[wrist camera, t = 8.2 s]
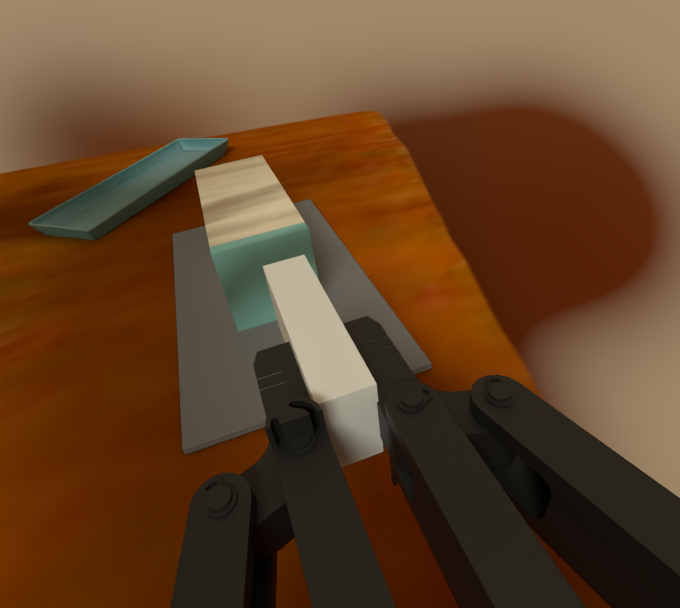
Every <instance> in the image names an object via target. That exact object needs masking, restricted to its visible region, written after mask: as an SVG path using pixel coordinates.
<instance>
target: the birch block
mask: <svg viewBox="0 0 680 608" xmlns="http://www.w3.org/2000/svg"><path fill="white" fill-rule="evenodd" d="M195 175H196V180H197V186H198V191H199V196H200V201H201V206H202V211H203V216H204V222H205V227H206V232H207V237H208V242H209V247H210V253H211V256H212V259H213V262H214V265H215V268H216V271H217V273H218V276H219V279H220V282H221V285H222V288H223V290H224V293H225V296H226V299H227V302H228V305H229V307H230V310H231V313H232V316H233V319H234V321H235V324H236V327H237V330H238V332H239V331H242V330H246V329H249V328H252V327H256V326H259V325H262V324H265V323H269V322H272V321H275V320H277V317H276V313H275V310H274V306H273V302H272V299H271V295H270V291H269V288H268V284H267V280H266V277H265V273H264V269H263V266H265V265H269V264H272V263H276V262H279V261H283V260H286V259H290V258H294V257H297V256H301V255H305V257H306V259H307V260H308V262H309V264H310V266H311V268H312V269H313V271H314V273H315V275H316V277H317V278H318V274H317V269H316V264H315V258H314V253H313V247H312V242H311V237H310V231H309V228H308V226H307V225H306V223H305V222H304V220H303V218H302V217H301V215H300V214H299V212H298V211H297V209H296V208H295V206H294V204H293V203H292V201H291V200H290V198H289V197H288V195H287V194H286V192H285V190H284V189H283V187H282V186H281V184H280V183H279V181H278V180H277V178H276V176H275V175H274V173H273V172H272V170H271V169H270V167H269V166H268V164H267V162H266V161H265V159H264V158H263V156H262V155H260V156H256V157H251V158H247V159H243V160H238V161H234V162H230V163H225V164H221V165H217V166H212V167H208V168H204V169H199V170H195Z"/></svg>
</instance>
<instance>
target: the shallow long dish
mask: <svg viewBox="0 0 680 608" xmlns="http://www.w3.org/2000/svg"><path fill="white" fill-rule="evenodd" d="M227 144H228V139H227V138H184V139H183V138H180V139H177V140H175V141H174V142H172V143H170V144H168V145H166V146H165V147H163V148H161V149H159V150H157V151H156V152H154V153H152V154H150V155H149V156H147V157H145V158H143V159H142V160H140V161H138V162H136V163H135V164H133V165H131V166H129V167H127V168H126V169H124V170H122V171H120V172H118V173H117V174H115V175H113V176H111V177H109V178H108V179H106V180H104V181H102V182H100V183H98V184H96V185H95V186H93V187H91V188H89V189H87V190H86V191H84V192H82V193H80V194H78V195H76V196H75V197H73V198H71V199H69V200H67V201H66V202H64V203H62V204H60V205H59V206H57V207H55V208H53V209H51V210H50V211H48V212H46V213H44V214H43V215H41V216H39V217H37V218H36V219H34V220H32V221H30V222H29V223H28V225H29V226H31V227H33V228H34V229H36V230H38V231H40V232H41V233H43V234H45V235H51V236H60V237H70V238H78V239H87V240H96V239H98V238H100V237H101V236H103V235H104V234H106V233H108V232H109V231H111V230H112V229H114V228H115V227H117V226H118V225H120V224H121V223H123V222H124V221H126V220H127V219H129V218H130V217H132V216H133V215H135V214H136V213H138V212H139V211H141V210H142V209H144V208H145V207H147V206H149V205H150V204H152V203H153V202H155V201H156V200H158V199H159V198H161V197H162V196H164V195H165V194H167V193H168V192H170V191H171V190H173V189H174V188H176V187H177V186H179V185H180V184H182V183H183V182H185V181H186V180H188V179H189V178H191V177H192V176H194V175H195V170H199V169H204V168H206V167H207V166H209V165H210V164H212V163H213V162H215V161H216V160H218V159H219V158H221V157H222V156H223V155H224V154H225V151H226V148H227Z"/></svg>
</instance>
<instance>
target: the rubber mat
mask: <svg viewBox="0 0 680 608" xmlns="http://www.w3.org/2000/svg"><path fill="white" fill-rule="evenodd" d="M293 204H294V206H295V208H296V209H297V211H298V212H299V214H300V215H301V217H302V218H303V220H304V222H305V223H306V225H307V226H308V228H309V231H310V237H311V242H312V247H313V253H314V258H315V264H316V269H317V274H318V280H319V282H320V284H321V285H322V287H323V289H324V291H325V293H326V294H327V296H328V298H329V300H330V302H331V303H332V305H333V307H334V309H335V310H336V312H337V314H338V316H339V318H340V319H341V321H342V323H346V322H349V321H352V320H355V319H358V318H362V317H365V316H368V317H370V318H372V319H373V320H375V321H377V322H378V323H380V324H381V326H382V327H383V329H384V330H385V332H386V333H387V335H388V337H389V338H390V339H391V341H392V342H393V344H394V346H395V347H396V348H397V350H398V351H399V353H400V354H401V355H402V357H403V358H404V360H405V361H406V363H407V364H408V366H409V367H410V369H411V370H412V372H413V373H414V375H415V374H417V373H420V372H423V371H426V370H429V369H432V363H431V362H430V360H429V359H428V358H427V356H426V355H425V354H424V352H423V351H422V350H421V348H420V347H419V346H418V344H417V343H416V342H415V340H414V339H413V338H412V336H411V335H410V333H409V332H408V331H407V329H406V328H405V327H404V325H403V324H402V323H401V321H400V320H399V319H398V317H397V316H396V315H395V313H394V312H393V311H392V309H391V308H390V306H389V305H388V304H387V302H386V301H385V300H384V298H383V297H382V296H381V294H380V293H379V292H378V290H377V289H376V288H375V286H374V285H373V284H372V282H371V281H370V280H369V278H368V277H367V275H366V274H365V273H364V271H363V270H362V269H361V267H360V266H359V265H358V263H357V262H356V261H355V259H354V258H353V257H352V255H351V254H350V253H349V251H348V250H347V249H346V247H345V246H344V244H343V243H342V242H341V240H340V239H339V238H338V236H337V235H336V234H335V232H334V231H333V230H332V228H331V227H330V226H329V224H328V223H327V222H326V220H325V219H324V217H323V216H322V215H321V213H320V212H319V211H318V209H317V208H316V207H315V205H314V204H313V203H312V201H311V200H310V199H308V200H304V201H300V202H296V203H293ZM172 235H173V256H174V278H175V300H176V321H177V343H178V364H179V386H180V407H181V429H182V450H183V452H184V454H185V455H186V454H189V453H192V452H195V451H197V450H200V449H203V448H206V447H209V446H212V445H215V444H217V443H220V442H223V441H226V440H229V439H232V438H235V437H237V436H240V435H243V434H246V433H249V432H252V431H255V430H257V429H260V428H263V427H265V420H266V414H265V410H264V407H263V403H262V399H261V395H260V390H259V387H258V383H257V379H256V375H255V371H254V367H253V364H254V360H255V357H256V353H257V351H261V350H264V349H267V348H270V347H273V346H276V345H280V344H283V343H285V341H284V339H283V336H282V333H281V330H280V328H279V324H278V321H277V320H275V321H272V322H269V323H265V324H262V325H259V326H256V327H252V328H249V329H246V330H242V331H239V332H238V330H237V327H236V324H235V321H234V319H233V316H232V313H231V310H230V307H229V305H228V302H227V299H226V296H225V293H224V290H223V288H222V285H221V282H220V279H219V276H218V273H217V271H216V268H215V265H214V262H213V259H212V256H211V253H210V247H209V242H208V237H207V232H206V227H205V226H202V227H198V228H194V229H190V230H186V231H182V232H178V233H175V234H172Z"/></svg>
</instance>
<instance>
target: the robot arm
mask: <svg viewBox="0 0 680 608" xmlns="http://www.w3.org/2000/svg"><path fill="white" fill-rule="evenodd" d="M263 269H264V273H265V277H266V280H267V284H268V288H269V291H270V295H271V299H272V302H273V306H274V310H275V313H276V317H277V321H278V324H279V328H280V330H281V333H282V336H283V339H284V341H285V343H283V344H280V345H276V346H273V347H270V348H267V349H264V350H261V351H257V353H256V357H255V360H254V364H253V367H254V371H255V375H256V379H257V383H258V387H259V390H260V395H261V399H262V403H263V407H264V410H265V414H266V420H265V430H266V433H267V436H268V439H269V445H268V447H267V449H266V452H265V453H264V454H263V456H262V457H261V458H260V459H259V460H258V461H257V462H256V463H255V464H254V465H252V466H251V467H250V468H248V469H247V470H246V471H244V472H243V473H241V474H240V475H238V474H236V473H222V474H219V475H216V476H213V477H212V478H210V479H209V480H207V481H206V482H204V483H203V484H202V485H201V486H200V488H199V489H198V490H197V491H196V493H195V494H194V496H193V499H192V501H191V504H190V508H189V513H188V518H187V523H186V529H185V534H184V539H183V545H182V550H181V555H180V560H179V566H178V571H177V576H176V581H175V587H174V592H173V597H172V603H171V608H276V581H277V552H278V551H279V550H280V549H281V548H283V547H284V546H285V545H286V544H287V543H289V542H290V541H291V540H292V539H293V538H294V537H295V539H296V543H297V547H298V551H299V555H300V559H301V563H302V567H303V571H304V575H305V579H306V583H307V587H308V591H309V595H310V599H311V603H312V607H313V608H396V607H395V605H394V602H393V599H392V597H391V594H390V592H389V589H388V587H387V584H386V581H385V579H384V576H383V574H382V571H381V569H380V566H379V563H378V561H377V558H376V556H375V553H374V551H373V548H372V545H371V543H370V540H369V538H368V535H367V533H366V530H365V527H364V525H363V522H362V520H361V517H360V515H359V512H358V509H357V507H356V504H355V502H354V499H353V497H352V494H351V491H350V489H349V486H348V484H347V481H346V479H345V476H344V473H343V471H342V467H344V466H347V465H350V464H352V463H355V462H357V461H360V460H363V459H365V458H368V457H371V456H373V455H376V454H378V453H381V452H384V451H383V443H384V445H385V447H386V449H387V451H388V453H389V455H390V466H391V478H392V482H393V486H394V485H396V484H397V481H398V483H399V485H400V487H401V489H402V491H403V493H404V495H405V497H406V500H407V502H408V504H409V506H410V508H411V510H412V512H413V514H414V516H415V518H416V520H417V522H418V524H419V526H420V528H421V530H422V532H423V534H424V536H425V538H426V541H427V543H428V545H429V547H430V549H431V551H432V553H433V555H434V557H435V559H436V561H437V563H438V565H439V567H440V569H441V571H442V573H443V575H444V577H445V580H446V582H447V584H448V586H449V588H450V590H451V592H452V594H453V596H454V598H455V600H456V602H457V604H458V606H459V608H585V606H584V605H583V603H582V602H581V601H580V599H579V598H578V596H577V595H576V593H575V592H574V590H573V589H572V588H571V586H570V585H569V583H568V582H567V580H566V579H565V578H564V576H563V575H562V573H561V572H560V570H559V569H558V567H557V566H556V565H555V563H554V562H553V560H552V559H551V557H550V556H549V554H548V553H547V552H546V550H545V549H544V547H543V546H542V544H541V543H540V542H539V540H538V539H537V537H536V536H535V534H534V533H533V531H534V532H535V533H536V534H537V535H538V536H539V537H540V538H541V539H542V540H543V541H544V542H545V543H546V544H547V545H548V546H549V547H550V548H551V549H552V550H554V551H555V552H556V553H557V554H558V555H559V556H560V557H561V558H562V559H563V560H564V561H565V562H566V563H567V564H568V565H569V566H570V567H571V568H572V569H573V570H574V571H575V572H576V573H577V574H578V575H579V576H580V577H581V578H582V579H583V580H584V581H585V582H586V583H587V584H588V585H589V586H590V587H591V588H592V589H593V590H594V591H595V592H596V593H597V594H598V595H599V596H600V597H601V598H602V599H603V600H604V601H605V602H606V603H607V604H608V605H609V606H610V607H611V608H680V498H679V497H677V496H676V495H674V494H673V493H672V492H670V491H669V490H668V489H666V488H665V487H663V486H662V485H661V484H659V483H658V482H656V481H655V480H654V479H652V478H651V477H649V476H648V475H647V474H645V473H644V472H642V471H641V470H640V469H638V468H637V467H636V466H634V465H633V464H631V463H630V462H628V461H627V460H626V459H624V458H623V457H622V456H620V455H619V454H617V453H616V452H615V451H613V450H612V449H611V448H609V447H608V446H606V445H605V444H604V443H602V442H601V441H599V440H598V439H597V438H595V437H594V436H592V435H591V434H589V433H588V432H587V431H585V430H584V429H583V428H581V427H580V426H578V425H577V424H576V423H574V422H573V421H571V420H570V419H568V418H567V417H566V416H564V415H563V414H562V413H560V412H559V411H557V410H556V409H554V408H553V407H552V406H551V405H549V404H548V403H547V402H545V401H544V400H542V399H541V398H540V397H538V396H537V395H535V394H534V393H533V392H531V391H530V390H528V389H527V388H526V387H524V386H523V385H521V384H520V383H519V382H517V381H515V380H513V379H511V378H509V377H506V376H501V375H487V376H485V377H482V378H480V379H478V380H477V381H476V382H475V383H474V384H473V386H472V390H471V391H455V392H442V391H437V390H433V389H432V388H431V387H430V386H428V385H426V384H424V383H422V382H420V381H419V380H418V379H417V378H416V376H415V375H414V373H413V372H412V370H411V369H410V367H409V366H408V364H407V363H406V361H405V360H404V358H403V357H402V355H401V354H400V353H399V351H398V350H397V348H396V347H395V346H394V344H393V342H392V341H391V339H390V338H389V337H388V335H387V333H386V332H385V330H384V329H383V327H382V326H381V324H380V323H378V322H377V321H375V320H373V319H372V318H370V317H368V316H365V317H362V318H358V319H355V320H352V321H349V322H346V323H342V321H341V319H340V318H339V316H338V314H337V312H336V310H335V309H334V307H333V305H332V303H331V302H330V300H329V298H328V296H327V294H326V293H325V291H324V289H323V287H322V285H321V284H320V282H319V280H318V278H317V277H316V275H315V273H314V271H313V269H312V268H311V266H310V264H309V262H308V260H307V259H306V257H305V255H301V256H297V257H294V258H290V259H286V260H283V261H279V262H276V263H272V264H269V265H265V266H263ZM382 441H383V442H382ZM530 528H531V529H532V530H533V531H532V530H531V529H530Z"/></svg>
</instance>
